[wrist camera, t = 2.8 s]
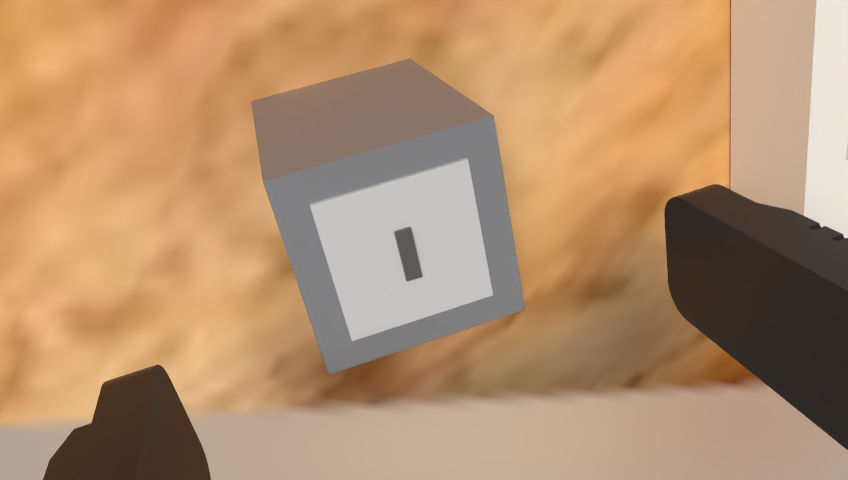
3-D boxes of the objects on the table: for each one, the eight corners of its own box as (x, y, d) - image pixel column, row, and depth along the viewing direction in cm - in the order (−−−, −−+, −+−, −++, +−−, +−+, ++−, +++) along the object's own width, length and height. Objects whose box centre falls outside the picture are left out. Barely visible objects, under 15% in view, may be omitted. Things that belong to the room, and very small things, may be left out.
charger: (251, 101, 16) (263, 184, 11) (409, 58, 17) (496, 117, 11) (298, 245, 18) (329, 379, 13) (440, 202, 19) (528, 313, 13)
